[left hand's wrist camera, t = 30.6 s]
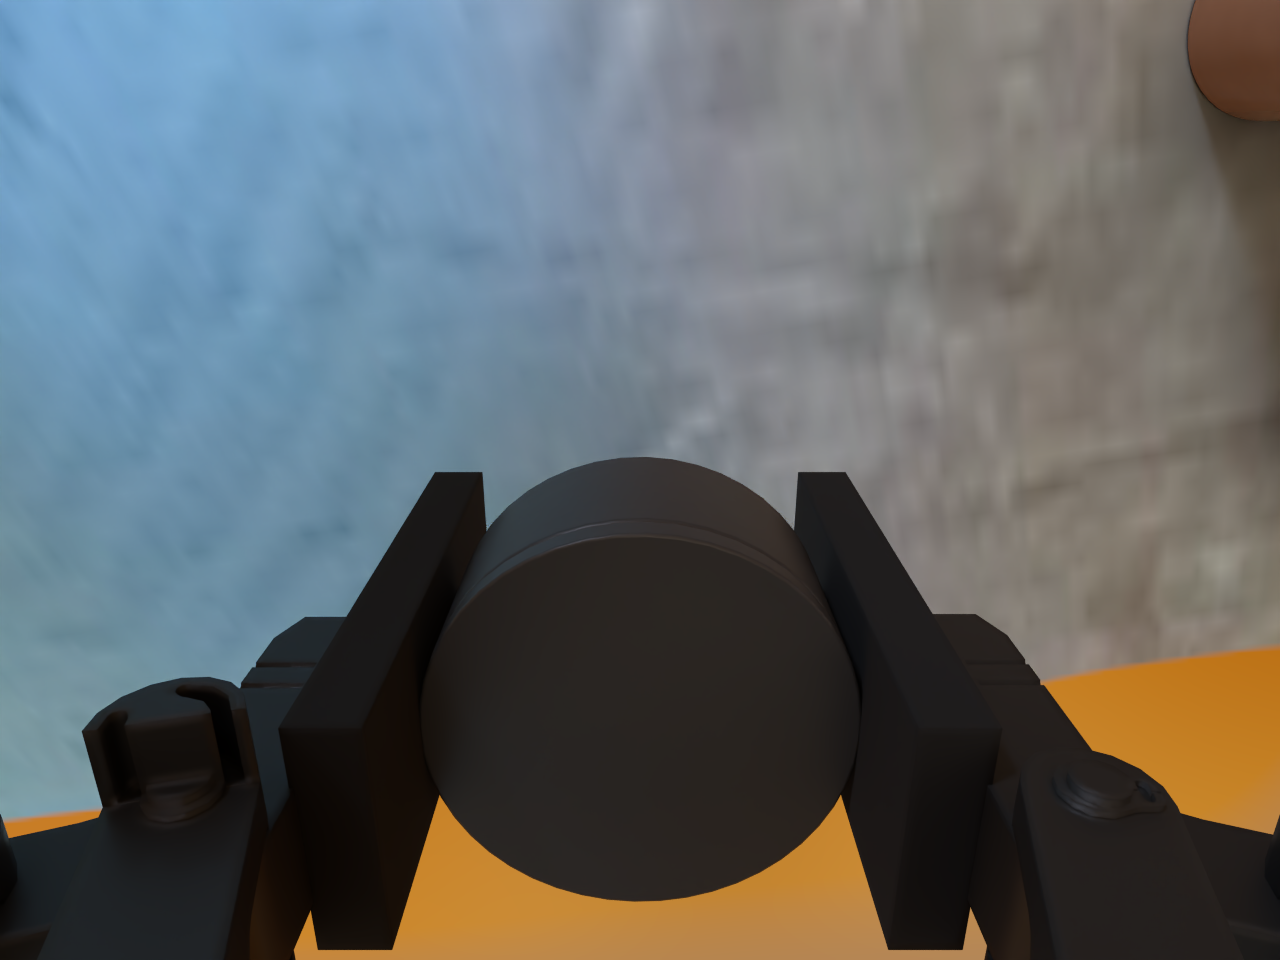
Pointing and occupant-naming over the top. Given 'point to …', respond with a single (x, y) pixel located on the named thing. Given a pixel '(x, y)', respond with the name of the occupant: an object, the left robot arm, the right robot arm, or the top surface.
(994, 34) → the top surface
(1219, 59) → the brown cylinder
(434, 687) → the lid
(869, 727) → the left robot arm
